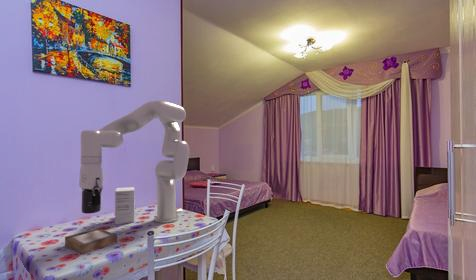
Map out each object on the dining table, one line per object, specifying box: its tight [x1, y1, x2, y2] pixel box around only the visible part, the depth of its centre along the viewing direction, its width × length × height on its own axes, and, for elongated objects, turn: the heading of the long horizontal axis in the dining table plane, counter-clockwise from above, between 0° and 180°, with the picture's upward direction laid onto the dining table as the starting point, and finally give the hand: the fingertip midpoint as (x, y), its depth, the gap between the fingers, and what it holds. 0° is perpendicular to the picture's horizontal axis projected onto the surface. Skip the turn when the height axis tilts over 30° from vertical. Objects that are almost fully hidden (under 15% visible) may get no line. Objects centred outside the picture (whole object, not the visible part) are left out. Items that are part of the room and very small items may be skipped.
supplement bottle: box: [81, 187, 102, 214], centre depth 106 cm, size 7×7×12 cm
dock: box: [64, 227, 118, 256], centre depth 106 cm, size 14×14×4 cm
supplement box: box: [114, 186, 136, 225], centre depth 136 cm, size 10×9×17 cm
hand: (91, 203), depth 106 cm, fingers closed on supplement bottle, 6 cm apart
